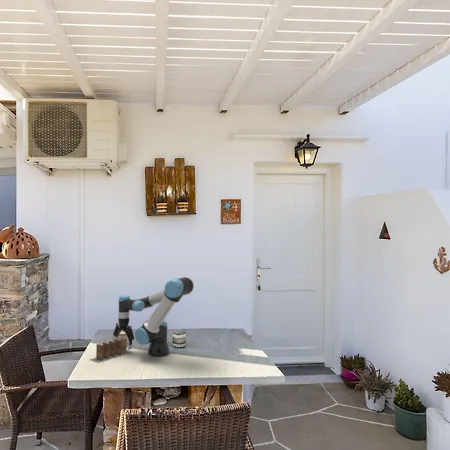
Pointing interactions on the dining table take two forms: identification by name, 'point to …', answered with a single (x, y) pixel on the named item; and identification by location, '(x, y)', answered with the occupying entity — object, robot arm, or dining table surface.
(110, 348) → the tile
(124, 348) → the lead tile
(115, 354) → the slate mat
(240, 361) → the dining table surface
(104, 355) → the tile
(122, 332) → the teacup with lid
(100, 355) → the tile
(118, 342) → the tile
